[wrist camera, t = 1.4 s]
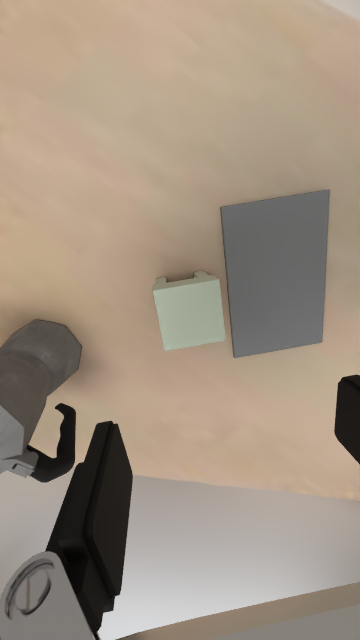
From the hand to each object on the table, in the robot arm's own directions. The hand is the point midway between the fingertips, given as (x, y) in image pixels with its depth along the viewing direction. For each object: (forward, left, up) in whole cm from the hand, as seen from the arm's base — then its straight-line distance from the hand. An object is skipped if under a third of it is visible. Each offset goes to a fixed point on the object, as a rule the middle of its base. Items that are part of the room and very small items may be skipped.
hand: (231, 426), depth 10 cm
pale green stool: (0, 0, -23) cm, 23 cm away
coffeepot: (+18, +5, -23) cm, 30 cm away
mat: (-13, 0, -23) cm, 26 cm away
